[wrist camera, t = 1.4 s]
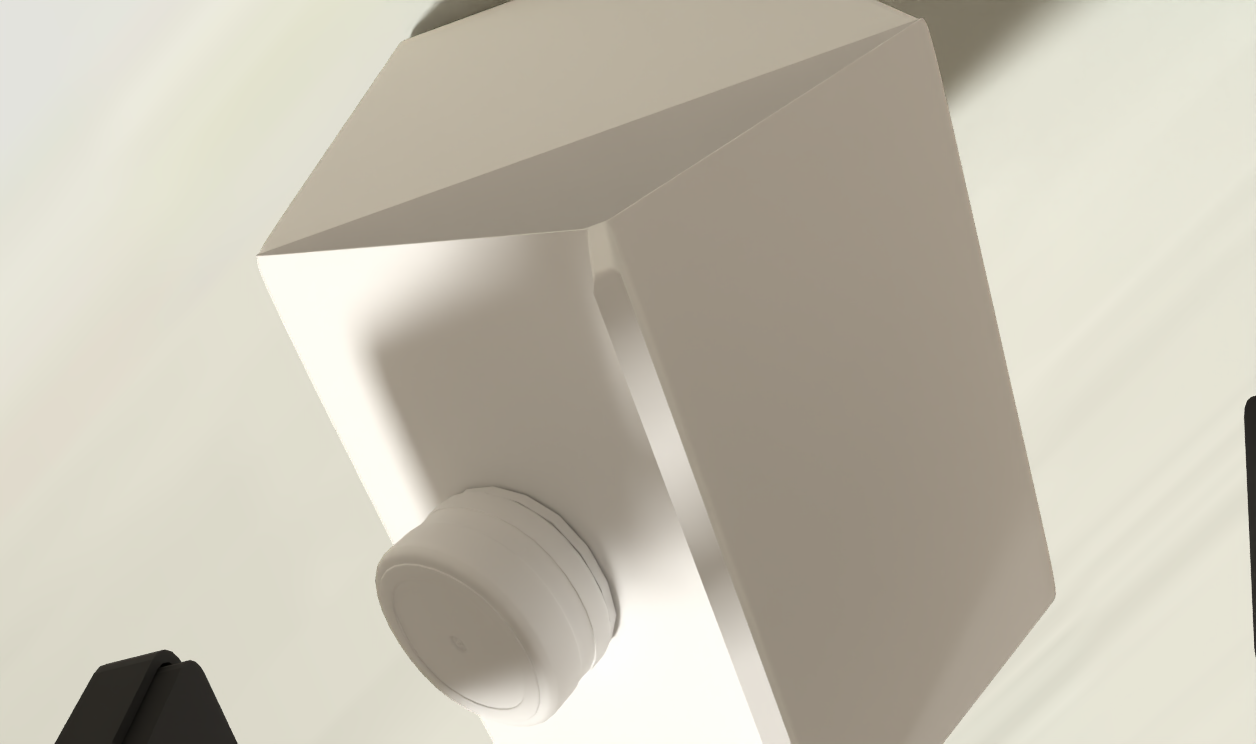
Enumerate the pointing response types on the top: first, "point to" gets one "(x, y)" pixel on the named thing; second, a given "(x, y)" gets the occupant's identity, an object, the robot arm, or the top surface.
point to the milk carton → (672, 373)
